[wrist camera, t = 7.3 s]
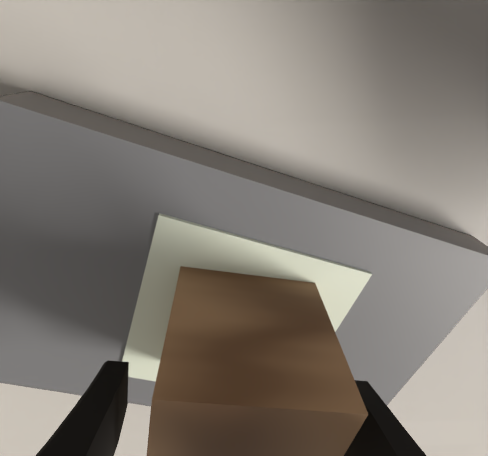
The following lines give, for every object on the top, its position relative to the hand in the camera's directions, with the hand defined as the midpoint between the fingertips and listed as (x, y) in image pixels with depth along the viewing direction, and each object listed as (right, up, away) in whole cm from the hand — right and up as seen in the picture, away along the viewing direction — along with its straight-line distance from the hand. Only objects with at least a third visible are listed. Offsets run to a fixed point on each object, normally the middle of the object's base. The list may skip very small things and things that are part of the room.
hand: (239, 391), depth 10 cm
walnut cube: (0, +1, +2) cm, 3 cm away
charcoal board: (0, +2, +4) cm, 5 cm away
